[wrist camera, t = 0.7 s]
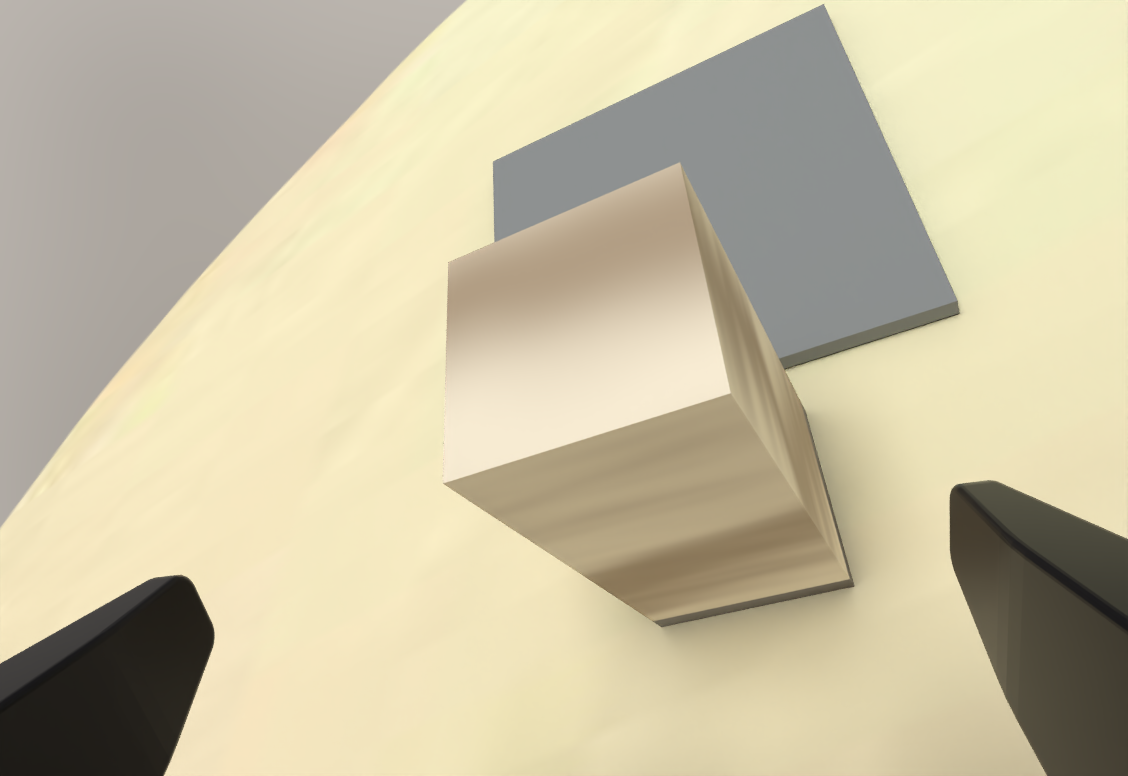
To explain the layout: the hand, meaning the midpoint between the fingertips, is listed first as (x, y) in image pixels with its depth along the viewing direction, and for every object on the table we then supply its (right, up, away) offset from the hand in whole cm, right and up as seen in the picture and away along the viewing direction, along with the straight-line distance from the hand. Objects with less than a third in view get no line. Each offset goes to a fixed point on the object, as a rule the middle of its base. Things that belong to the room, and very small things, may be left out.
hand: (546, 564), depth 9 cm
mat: (+4, +8, +18) cm, 20 cm away
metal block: (+5, -1, +12) cm, 13 cm away
